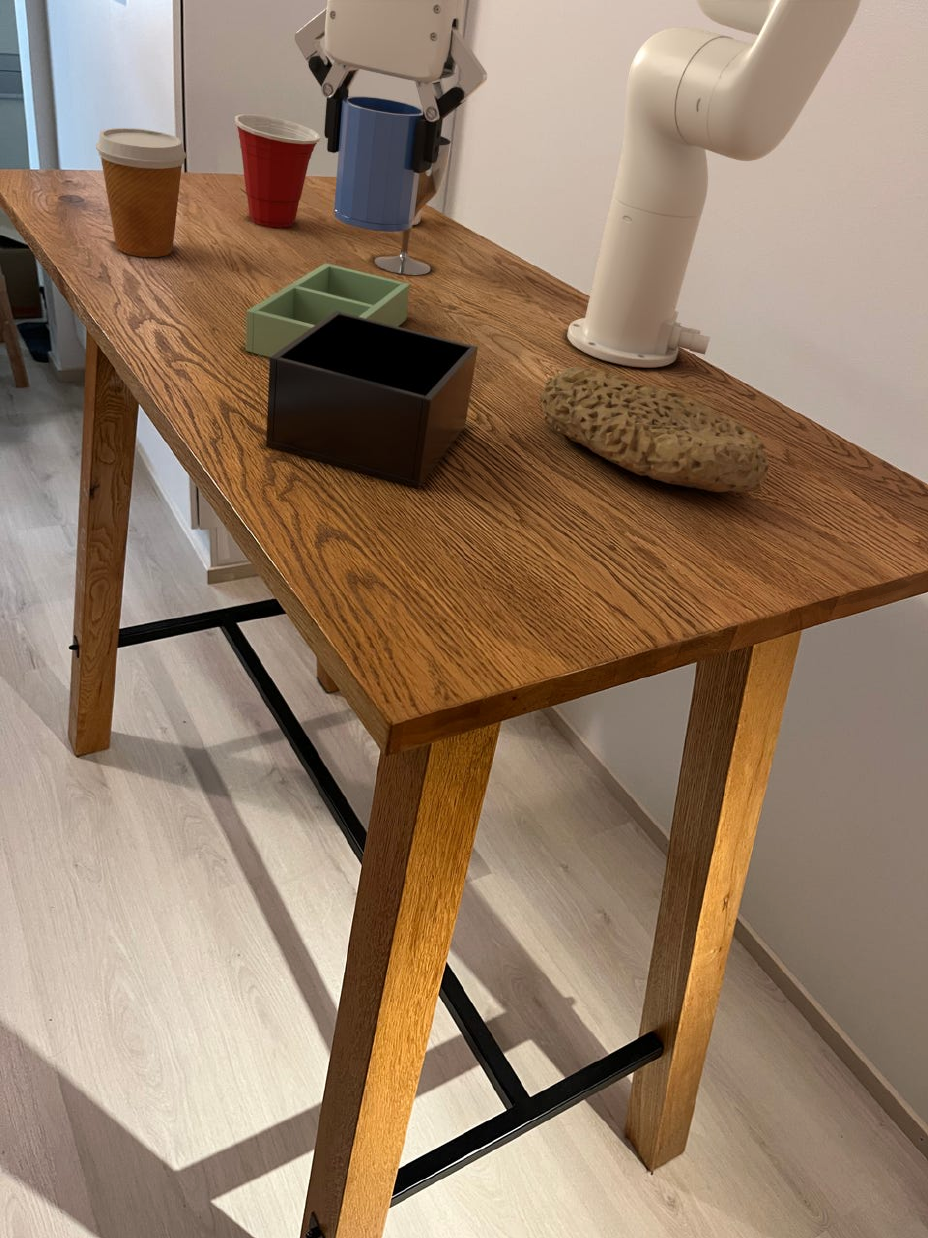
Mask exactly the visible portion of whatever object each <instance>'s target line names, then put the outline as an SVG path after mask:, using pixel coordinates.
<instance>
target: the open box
mask: <svg viewBox="0 0 928 1238" xmlns="http://www.w3.org/2000/svg"><path fill="white" fill-rule="evenodd" d="M478 349H479V347H478V346H474V345H470V344H467V343H463V342H459V341H455V340H451V339H448V338H443V337H439V336H435V335H431V334H427V333H424V332H419V331H416V330H412V329H408V328H404V327H402V326H401V327H400V326H398V327H397V326H393V325H389V324H385V323H381V322H377V321H373V320H369V319H365V318H361V317H358V316H354V315H350V314H346V313H341V312H338V311H335V312H333V313H332V314H330V315H329V316H328V317H326V318H325V319H323V320H322V321H321V322H319V323H318V324H316V325H315V326H314V327H312V328H311V329H309V330H308V331H307V332H305V333H304V334H302V335H301V336H300V337H298V338H297V339H295V340H294V341H293V342H291V343H290V344H288V345H287V346H286V347H284V348H283V349H281V350H280V351H279V352H277V353H276V354H274V355H273V356H272V357H269V367H268V368H269V369H268V392H267V412H266V413H267V415H266V416H267V417H266V439H265V447H267V448H271V449H275V450H278V451H282V452H286V453H290V454H292V455H296V456H299V457H303V458H305V459H306V458H307V459H310V460H314V461H317V462H321V463H323V464H324V463H325V464H328V465H332V466H335V467H339V468H342V469H345V470H350V471H354V472H357V473H360V474H364V475H367V476H370V477H371V476H372V477H373V478H378V479H381V480H385V481H389V482H391V483H392V482H393V483H396V484H399V485H403V486H406V487H409V488H413V489H419V488H420V487H421V486H422V484H424V482H425V480H427V478H428V476H429V475H430V474H431V472H432V471H433V470H434V469H435V468H436V466H437V465H438V463H439V462H441V460H442V458H443V457H444V456H445V454H446V453H447V452H448V451H449V449H450V448H451V446H452V445H453V444H454V443H455V441H457V438H458V437H459V436H460V434H461V433H462V432H463V431H464V429H466V421H467V417H468V409H469V404H470V398H471V391H472V385H473V379H474V373H475V368H476V363H477V362H476V361H477V355H478Z"/></svg>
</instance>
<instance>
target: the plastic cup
mask: <svg viewBox="0 0 928 1238" xmlns="http://www.w3.org/2000/svg"><path fill="white" fill-rule="evenodd" d="M234 124H235V125H236V128H237V132H238V139H239V147H240V148H239V149H240V151H241V160H242V169H243V177H244V186H245V194H246V198H247V205H248V214H249V217H250V221H251V222H253V223H254V224H257V225H260V226H264V227H269V228H289V227H293V225H295V220H296V218H297V213H298V208H299V205H300V204H299V202H300V200H301V198H302V193H303V190H304V185H305V181H306V176H307V171H308V167H309V165H310V160H311V158H312V155H313V152H314V150H315V147H316V145H317V144H318V143H319V142H320V140H321V135H320V133H318V132H317V131H315V130H314V129H312V128H310V127H307V126H305V125H302V124H300V123H296V122H293V121H290V120H288V119H287V120H286V119H282V118H278V117H273V116H268V115H262V114H253V113H252V114H247V113H246V114H242V113H241V114H238V115H234Z"/></svg>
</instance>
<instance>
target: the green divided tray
mask: <svg viewBox="0 0 928 1238" xmlns="http://www.w3.org/2000/svg"><path fill="white" fill-rule="evenodd" d="M410 290H411V284H410V283H407V282H403V281H400V280H396V279H392V278H387V277H383V276H379V275H375V274H371V273H368V272H364V271H359V270H355V269H351V268H347V267H343V266H340V265H335V264H330V263H326V262H325V263H324V264H322V265H319V266H318V267H317V268H315V269H314V270H312V271H310V272H308V273H307V274H305V275H304V276H302V277H300V278H299V279H297V280H294V281H293V282H292V283H290V284H289V285H287V286H285V287H284V288H282V289H280V290H279V291H277V292H275V293H273V294H272V295H271V296H269V297H267V298H265V299H264V300H262V301H260V302H259V303H257V304H255V305H254V306H252V307H251V308H248V309H247V310H246V321H245V322H246V323H245V324H246V327H245V352H249V353H252V354H256V355H259V356H263V357H266V358H270V357H272V356H273V355H274V354H276V353H277V352H279V351H280V350H281V349H283V348H284V347H286V346H287V345H288V344H290V343H291V342H293V341H294V340H295V339H297V338H298V337H300V336H301V335H302V334H304V333H305V332H307V331H308V330H309V329H311V328H312V327H314V326H315V325H316V324H318V323H319V322H321V321H322V320H323V319H325V318H326V317H328V316H329V315H330V314H332V313H333V312H335V311H338V312H341V313H346V314H350V315H354V316H358V317H361V318H365V319H369V320H373V321H377V322H381V323H385V324H389V325H393V326H397V327H400V325H402V324H403V323H404V322H406V320H407V314H408V305H409V298H410Z"/></svg>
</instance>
